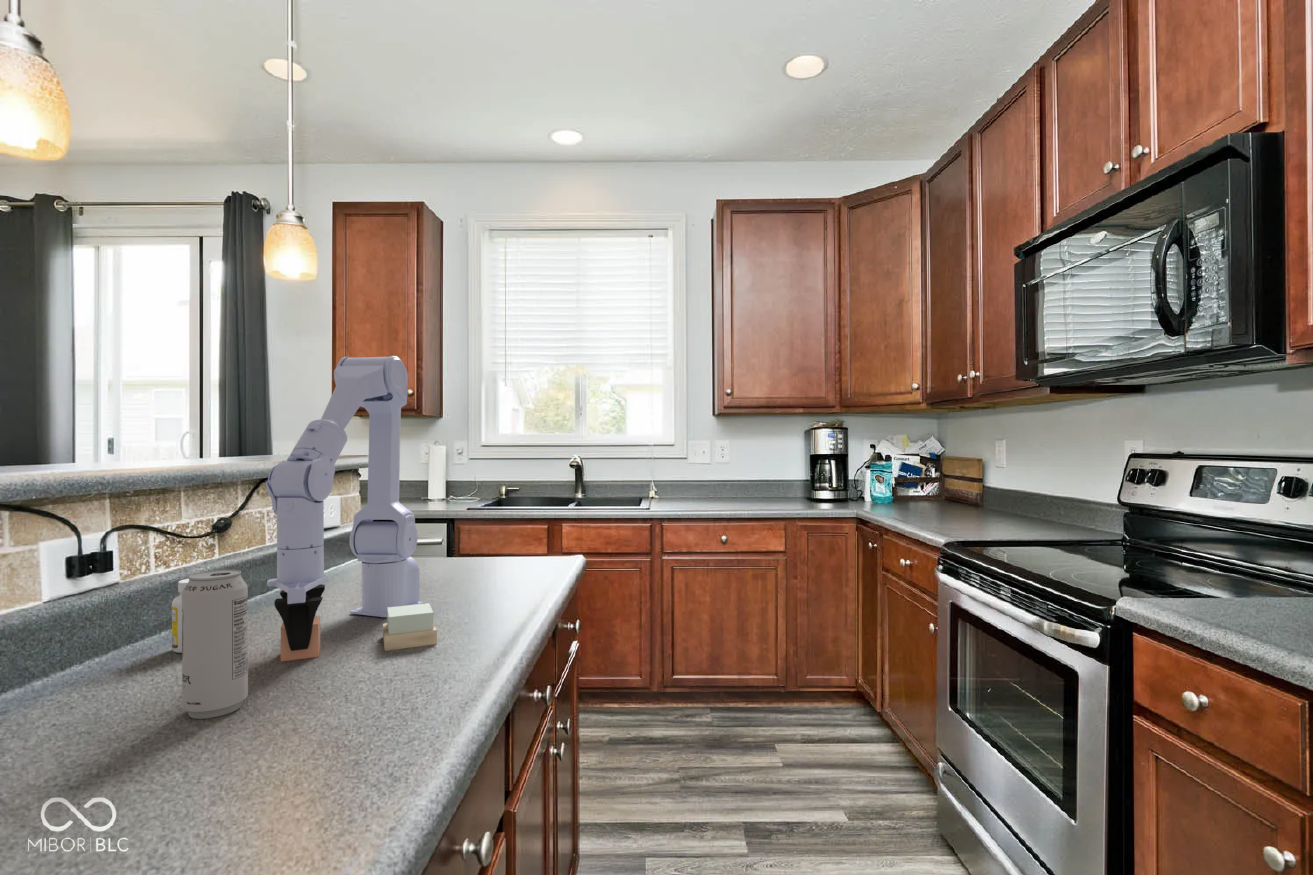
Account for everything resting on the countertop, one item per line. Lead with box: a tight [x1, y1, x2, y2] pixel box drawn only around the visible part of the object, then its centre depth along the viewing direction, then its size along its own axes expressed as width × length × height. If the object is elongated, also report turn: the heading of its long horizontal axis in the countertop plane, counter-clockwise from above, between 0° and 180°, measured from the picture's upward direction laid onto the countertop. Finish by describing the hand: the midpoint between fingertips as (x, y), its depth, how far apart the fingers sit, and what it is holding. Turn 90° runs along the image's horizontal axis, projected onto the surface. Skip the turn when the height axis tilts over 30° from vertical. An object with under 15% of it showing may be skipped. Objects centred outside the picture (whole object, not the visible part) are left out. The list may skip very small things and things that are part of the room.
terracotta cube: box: [280, 615, 321, 662], centre depth 90 cm, size 4×4×4 cm
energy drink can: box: [181, 569, 249, 720], centre depth 72 cm, size 6×6×15 cm
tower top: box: [386, 602, 434, 635], centre depth 96 cm, size 6×6×2 cm
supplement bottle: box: [171, 578, 189, 654], centre depth 93 cm, size 5×5×10 cm
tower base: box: [382, 621, 438, 652], centre depth 96 cm, size 7×7×2 cm
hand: (301, 643), depth 90 cm, fingers closed on terracotta cube, 4 cm apart
